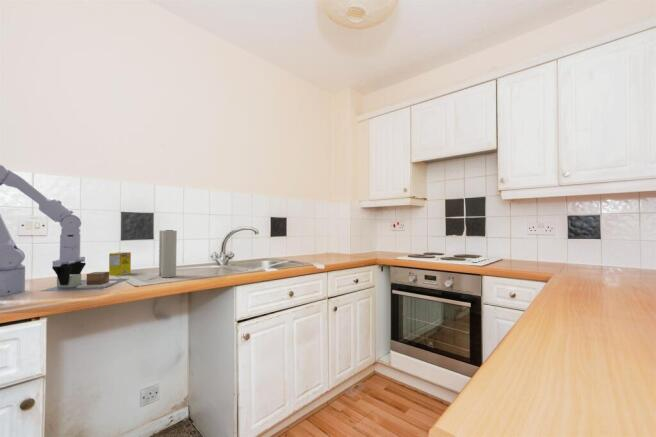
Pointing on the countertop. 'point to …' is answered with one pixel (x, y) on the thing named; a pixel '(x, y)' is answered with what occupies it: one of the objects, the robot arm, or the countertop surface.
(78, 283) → the sage block
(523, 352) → the countertop surface
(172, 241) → the tall grey block
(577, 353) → the countertop surface
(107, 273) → the walnut block
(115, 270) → the supplement box
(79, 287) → the board
